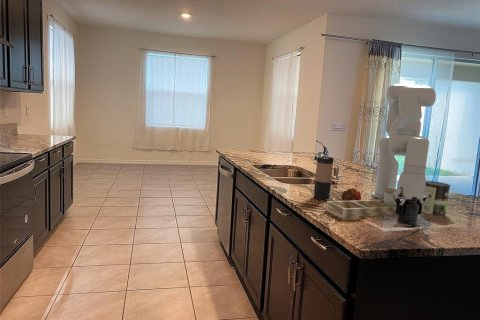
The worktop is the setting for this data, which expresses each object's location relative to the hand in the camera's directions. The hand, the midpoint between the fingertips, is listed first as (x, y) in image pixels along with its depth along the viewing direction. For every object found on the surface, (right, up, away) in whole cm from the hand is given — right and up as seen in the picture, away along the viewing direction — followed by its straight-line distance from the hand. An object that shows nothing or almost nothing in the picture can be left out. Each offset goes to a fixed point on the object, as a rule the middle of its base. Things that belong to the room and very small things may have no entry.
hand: (408, 213), depth 140 cm
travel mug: (-26, +2, +36) cm, 44 cm away
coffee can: (+20, -3, +19) cm, 28 cm away
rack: (-10, -2, +14) cm, 17 cm away
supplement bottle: (0, -5, +1) cm, 5 cm away
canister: (0, -1, +17) cm, 17 cm away
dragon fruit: (-14, 0, +27) cm, 31 cm away
